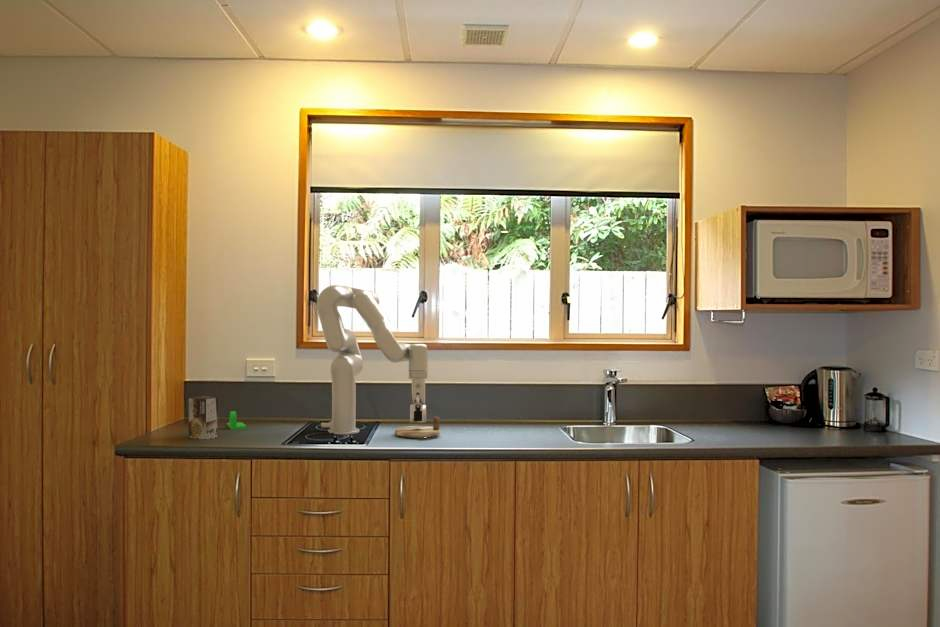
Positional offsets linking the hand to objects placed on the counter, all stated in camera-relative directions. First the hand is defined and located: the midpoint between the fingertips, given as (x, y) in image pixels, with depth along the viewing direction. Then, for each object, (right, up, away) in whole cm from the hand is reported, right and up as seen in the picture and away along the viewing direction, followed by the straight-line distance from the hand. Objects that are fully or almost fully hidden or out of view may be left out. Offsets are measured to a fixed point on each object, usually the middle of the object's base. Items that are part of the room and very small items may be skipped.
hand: (418, 419), depth 285 cm
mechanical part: (-77, -7, +15) cm, 79 cm away
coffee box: (-82, -6, -10) cm, 83 cm away
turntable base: (0, -7, 0) cm, 7 cm away
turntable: (0, -6, 0) cm, 6 cm away
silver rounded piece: (0, -1, 0) cm, 1 cm away
